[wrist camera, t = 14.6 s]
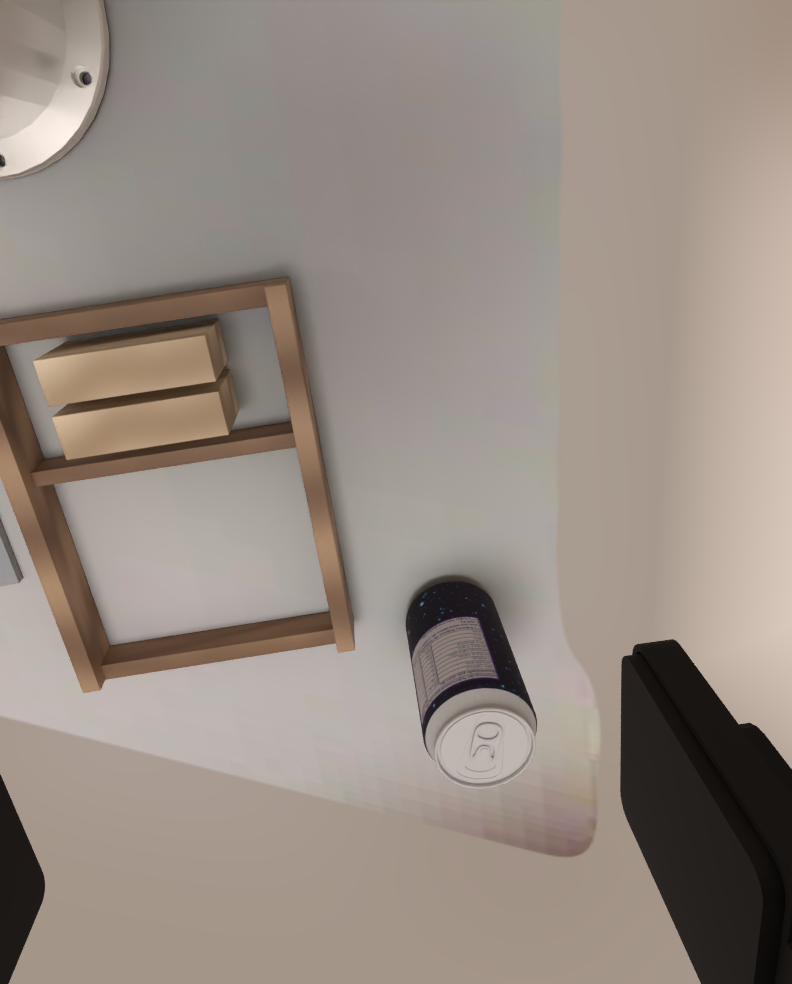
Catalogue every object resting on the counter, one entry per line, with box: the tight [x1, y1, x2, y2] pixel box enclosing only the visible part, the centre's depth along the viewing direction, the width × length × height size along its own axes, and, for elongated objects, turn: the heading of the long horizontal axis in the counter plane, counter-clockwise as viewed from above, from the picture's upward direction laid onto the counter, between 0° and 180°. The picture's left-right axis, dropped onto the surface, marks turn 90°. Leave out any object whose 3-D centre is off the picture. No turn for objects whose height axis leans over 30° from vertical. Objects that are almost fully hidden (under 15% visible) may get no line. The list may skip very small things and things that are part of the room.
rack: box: [0, 277, 355, 693], centre depth 40 cm, size 21×16×3 cm
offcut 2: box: [52, 370, 239, 460], centre depth 37 cm, size 2×8×4 cm, turn 98°
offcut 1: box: [33, 320, 228, 407], centre depth 36 cm, size 2×8×4 cm, turn 98°
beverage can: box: [406, 581, 537, 789], centre depth 40 cm, size 6×6×12 cm
